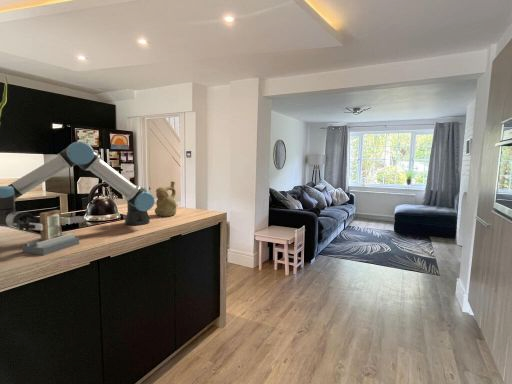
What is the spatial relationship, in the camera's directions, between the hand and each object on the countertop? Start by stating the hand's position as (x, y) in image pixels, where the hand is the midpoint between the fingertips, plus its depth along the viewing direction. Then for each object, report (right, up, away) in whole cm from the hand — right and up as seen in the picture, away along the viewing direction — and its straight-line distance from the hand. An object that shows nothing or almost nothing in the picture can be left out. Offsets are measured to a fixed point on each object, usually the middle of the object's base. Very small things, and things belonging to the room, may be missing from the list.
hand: (56, 223), depth 133 cm
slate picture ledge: (-3, -11, +2) cm, 12 cm away
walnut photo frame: (-3, -8, +2) cm, 9 cm away
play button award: (-30, -5, +57) cm, 64 cm away
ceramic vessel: (+25, -3, +85) cm, 89 cm away
